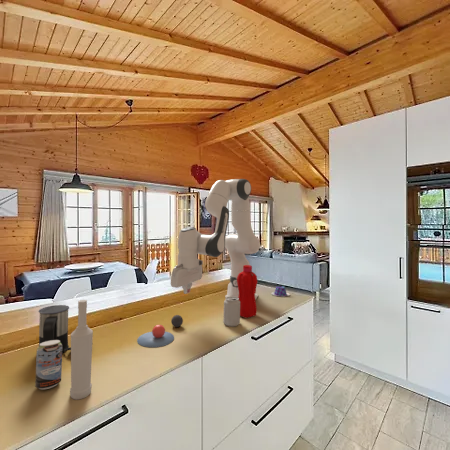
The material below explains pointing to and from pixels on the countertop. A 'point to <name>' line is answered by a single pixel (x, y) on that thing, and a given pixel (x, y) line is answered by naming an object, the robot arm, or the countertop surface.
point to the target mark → (155, 340)
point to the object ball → (158, 331)
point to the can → (231, 311)
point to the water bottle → (247, 292)
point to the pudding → (280, 291)
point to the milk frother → (54, 325)
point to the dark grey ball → (177, 321)
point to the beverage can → (48, 364)
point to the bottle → (81, 355)
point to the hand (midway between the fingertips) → (186, 292)
